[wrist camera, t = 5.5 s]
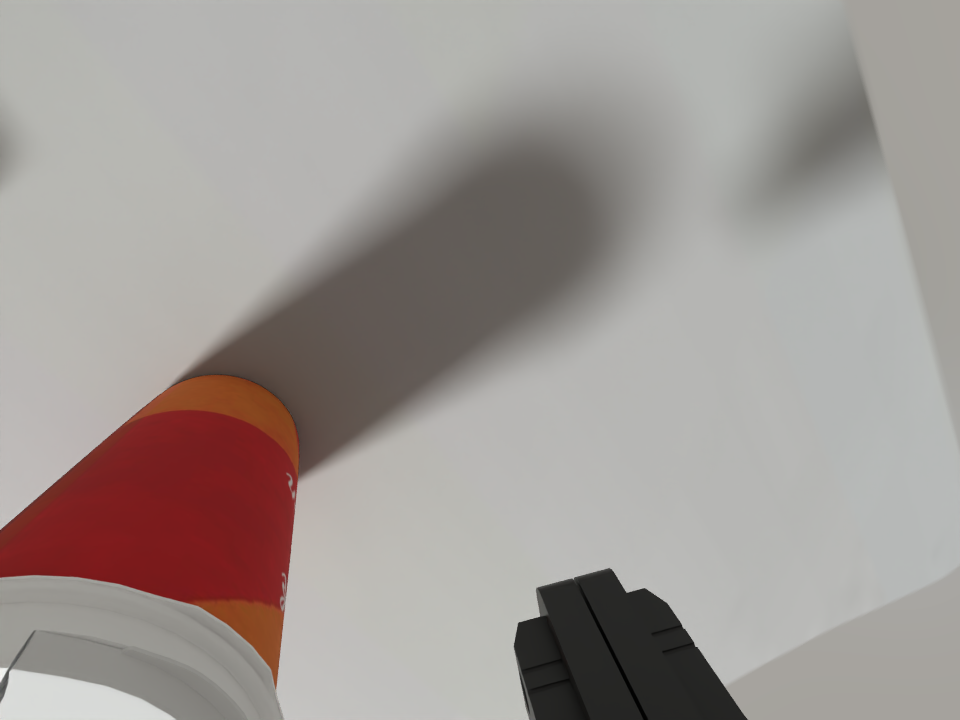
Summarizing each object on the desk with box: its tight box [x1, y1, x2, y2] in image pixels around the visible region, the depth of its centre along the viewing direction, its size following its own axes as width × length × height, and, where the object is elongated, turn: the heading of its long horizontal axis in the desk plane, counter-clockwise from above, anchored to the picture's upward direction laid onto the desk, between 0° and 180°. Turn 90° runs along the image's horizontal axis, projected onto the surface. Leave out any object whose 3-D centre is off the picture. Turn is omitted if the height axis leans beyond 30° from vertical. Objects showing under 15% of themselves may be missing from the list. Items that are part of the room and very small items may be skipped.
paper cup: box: [0, 375, 299, 720], centre depth 16 cm, size 8×8×14 cm
